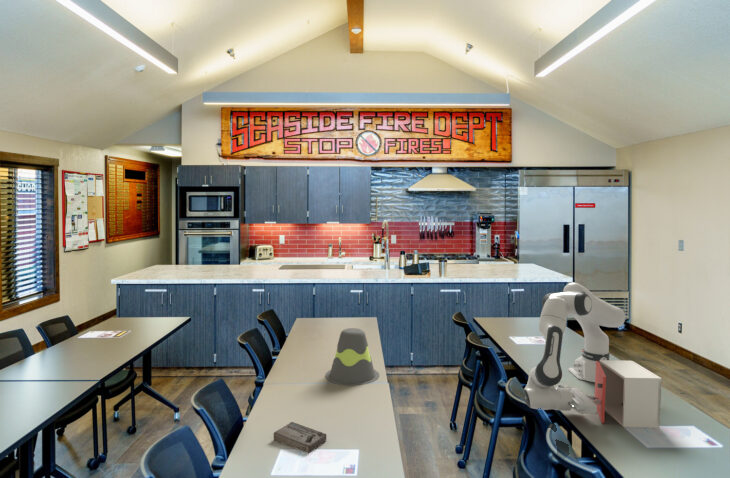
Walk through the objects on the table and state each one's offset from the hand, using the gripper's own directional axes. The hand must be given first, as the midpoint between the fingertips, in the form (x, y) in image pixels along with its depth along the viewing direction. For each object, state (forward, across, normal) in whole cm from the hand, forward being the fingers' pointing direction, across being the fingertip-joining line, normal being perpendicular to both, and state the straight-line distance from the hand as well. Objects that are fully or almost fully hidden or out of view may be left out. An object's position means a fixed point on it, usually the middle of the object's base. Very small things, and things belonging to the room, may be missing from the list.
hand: (598, 400), depth 194 cm
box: (-119, -26, +10) cm, 122 cm away
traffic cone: (-106, +44, +9) cm, 115 cm away
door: (+2, +5, +7) cm, 9 cm away
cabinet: (+14, +4, +8) cm, 16 cm away
